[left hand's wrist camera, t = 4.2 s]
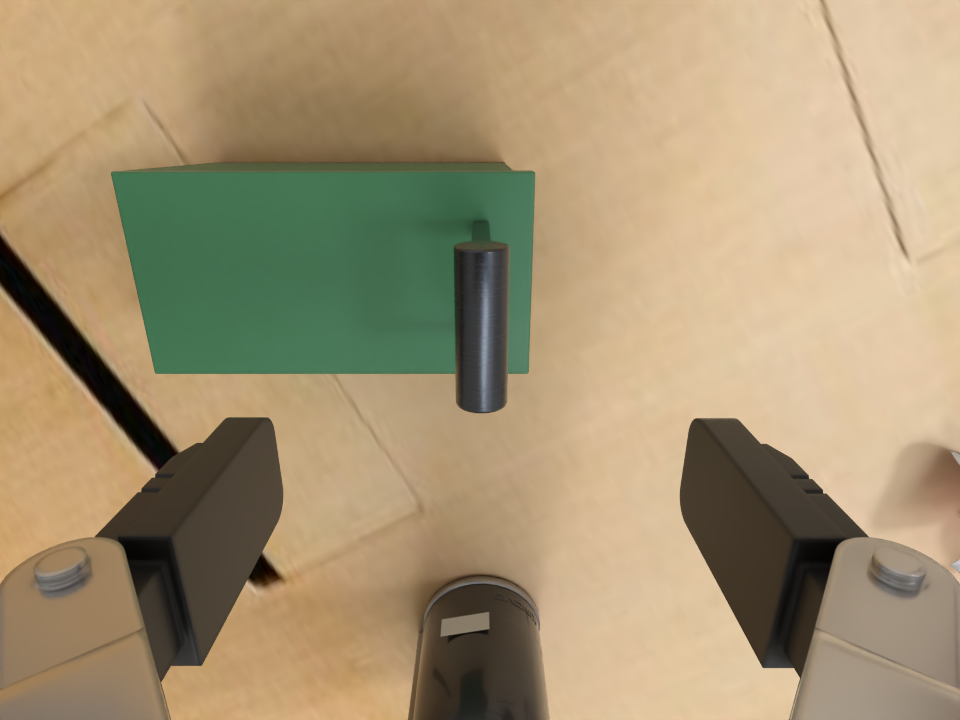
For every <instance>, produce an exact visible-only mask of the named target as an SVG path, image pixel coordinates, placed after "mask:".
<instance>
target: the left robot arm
mask: <svg viewBox="0 0 960 720" xmlns="http://www.w3.org/2000/svg"><path fill="white" fill-rule="evenodd" d="M282 504H283V485H282V479H281V472H280V465H279V458H278V451H277V444H276V437H275V431H274V426H273V424H272V421H271V420H270V419H269V418H226V419H225V420H224V421H223V422H222V423H221V424H220V425H219V426H218V427H217V428H216V429H215V430H214V432H213V433H212V434H211V435H210V436H209V437H208V438H207V439H206V440H205V441H204V442H203V443H196V444H194V445H193V446H191V447H189V448H187V449H186V450H184V451H182V452H180V453H179V454H177V455H175V456H174V457H172V458H171V459H170V460H169V461H168V462H167V463H166V464H165V465H164V466H163V467H162V468H161V469H160V470H159V471H158V472H157V473H156V474H155V478H151V479H150V480H149V481H148V483H147V484H146V485H145V486H144V487H143V488H142V491H141V492H138V493H137V494H136V495H135V496H134V497H133V498H132V499H131V500H130V501H129V502H128V503H127V504H126V505H125V506H124V507H123V508H122V509H121V510H120V511H119V512H118V513H117V514H116V515H115V516H114V517H113V519H112V520H111V521H110V522H109V523H108V524H107V525H106V526H105V527H104V528H103V529H102V530H101V531H100V532H99V533H98V534H97V535H96V536H95V537H90V538H82V539H77V540H72V541H68V542H65V543H61V544H59V545H56V546H53V547H50V548H48V549H46V550H44V551H42V552H39V553H38V554H36V555H34V556H32V557H30V558H29V559H27V560H26V561H24V562H22V563H21V564H20V565H18V566H17V567H16V568H14V569H13V570H12V571H11V572H10V573H9V574H8V575H7V576H6V577H5V578H4V580H3V581H2V582H1V584H0V720H171V718H170V714H169V710H168V707H167V703H166V699H165V695H164V692H163V688H162V685H161V682H162V680H163V678H164V676H165V675H166V673H167V671H168V670H169V668H170V666H202V664H203V662H204V660H205V658H206V657H207V655H208V653H209V651H210V649H211V647H212V645H213V643H214V642H215V640H216V638H217V636H218V634H219V632H220V630H221V628H222V626H223V625H224V623H225V621H226V619H227V617H228V615H229V613H230V611H231V609H232V608H233V606H234V604H235V602H236V600H237V598H238V596H239V594H240V592H241V591H242V589H243V587H244V585H245V583H246V581H247V579H248V577H249V575H250V574H251V572H252V570H253V568H254V566H255V564H256V562H257V560H258V558H259V557H260V555H261V553H262V551H263V549H264V547H265V545H266V543H267V541H268V540H269V538H270V536H271V534H272V532H273V530H274V528H275V526H276V525H277V523H278V520H279V518H280V515H281V510H282ZM680 505H681V511H682V516H683V519H684V521H685V524H686V525H687V527H688V529H689V531H690V533H691V535H692V537H693V538H694V540H695V542H696V544H697V546H698V548H699V550H700V552H701V553H702V555H703V557H704V559H705V561H706V563H707V565H708V566H709V568H710V570H711V572H712V574H713V576H714V578H715V580H716V581H717V583H718V585H719V587H720V589H721V591H722V593H723V594H724V596H725V598H726V600H727V602H728V604H729V606H730V607H731V609H732V611H733V613H734V615H735V617H736V619H737V621H738V622H739V624H740V626H741V628H742V630H743V632H744V634H745V635H746V637H747V639H748V641H749V643H750V645H751V647H752V648H753V650H754V652H755V654H756V656H757V658H758V660H759V662H760V663H761V665H762V667H763V668H794V669H795V670H796V672H797V674H798V675H799V677H800V681H799V685H798V688H797V692H796V695H795V699H794V703H793V707H792V710H791V714H790V718H789V720H960V584H959V582H958V581H957V580H956V578H955V577H954V576H953V575H952V574H951V573H950V572H949V571H948V570H947V569H946V568H944V567H943V566H942V565H940V564H939V563H938V562H936V561H934V560H933V559H931V558H930V557H928V556H926V555H924V554H922V553H921V552H918V551H916V550H914V549H912V548H910V547H907V546H904V545H901V544H899V543H895V542H892V541H888V540H883V539H878V538H870V537H868V536H867V534H866V533H865V532H864V531H863V530H862V529H861V528H860V527H859V526H858V525H857V524H856V523H855V522H854V521H853V520H852V519H851V518H850V517H849V516H848V515H847V514H846V513H845V512H844V511H843V510H842V509H841V508H840V507H839V506H838V505H837V504H836V503H835V502H834V501H833V500H832V499H831V498H830V497H829V496H828V495H827V494H823V490H822V489H821V488H820V487H819V486H818V485H817V484H816V482H815V481H814V480H813V479H809V475H808V474H807V473H806V472H805V471H804V470H803V469H802V468H801V467H800V466H799V465H798V464H797V463H796V462H795V461H794V460H793V459H792V458H790V457H788V456H787V455H785V454H783V453H781V452H780V451H778V450H776V449H774V448H773V447H771V446H769V445H767V444H760V443H759V442H758V440H757V439H756V438H755V437H754V436H753V435H752V434H751V433H750V432H749V431H748V430H747V429H746V427H745V426H744V425H743V424H742V423H741V422H740V421H739V420H738V419H735V418H696V419H694V420H693V421H692V423H691V425H690V428H689V433H688V439H687V446H686V453H685V460H684V466H683V473H682V480H681V487H680ZM539 631H540V623H539V615H538V611H537V608H536V605H535V603H534V602H533V600H532V599H531V597H530V596H529V595H528V594H527V593H526V592H525V591H524V590H523V589H521V588H520V587H518V586H517V585H515V584H513V583H511V582H509V581H506V580H503V579H500V578H495V577H488V576H475V577H468V578H463V579H460V580H457V581H454V582H452V583H450V584H448V585H446V586H444V587H443V588H442V589H440V590H439V591H438V592H437V593H436V594H435V595H434V596H433V597H432V598H431V600H430V601H429V603H428V605H427V607H426V610H425V613H424V620H423V631H422V632H421V633H420V634H419V636H418V644H417V652H416V660H415V668H414V676H413V684H412V692H411V700H410V708H409V716H408V720H550V717H549V708H548V700H547V692H546V683H545V675H544V667H543V659H542V650H541V642H540V634H539Z"/></svg>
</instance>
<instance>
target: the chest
mask: <svg viewBox="0 0 960 720" xmlns="http://www.w3.org/2000/svg"><path fill="white" fill-rule="evenodd" d="M127 171H513V170H511V169H510V168H509V167H508V166H507V165H506V164H505V162H217V163H209V164H197V165H186V166H174V167H162V168H151V169H139V170H127Z"/></svg>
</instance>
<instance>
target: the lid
mask: <svg viewBox="0 0 960 720" xmlns="http://www.w3.org/2000/svg"><path fill="white" fill-rule="evenodd" d="M111 176H112V180H113V185H114V189H115V194H116V198H117V203H118V207H119V212H120V216H121V221H122V225H123V230H124V234H125V239H126V243H127V248H128V252H129V257H130V261H131V266H132V270H133V275H134V280H135V284H136V289H137V293H138V298H139V302H140V307H141V311H142V316H143V320H144V325H145V329H146V334H147V338H148V343H149V347H150V352H151V356H152V361H153V365H154V370H155V373H156V374H456V403H457V405H458V406H459V407H460V408H461V409H463V410H465V411H468V412H473V413H490V412H495V411H498V410H500V409H502V408H503V407H504V406H505V405H506V403H507V375H508V374H527V373H528V372H529V344H530V314H531V284H532V254H533V224H534V193H535V172H533V171H116V172H111Z"/></svg>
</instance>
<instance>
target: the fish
mask: <svg viewBox="0 0 960 720" xmlns="http://www.w3.org/2000/svg"><path fill="white" fill-rule="evenodd" d="M950 452H951V454H952V455H953V457H954V458H955V460H956V461H957V463H958V464H959V465H960V453H956V452H953V451H950ZM959 518H960V516H959ZM951 566H952V567H953V568H955V569H956V570H957V571H958V572H959V573H960V560H958V561H956V562H955V563H953V564H951Z"/></svg>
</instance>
